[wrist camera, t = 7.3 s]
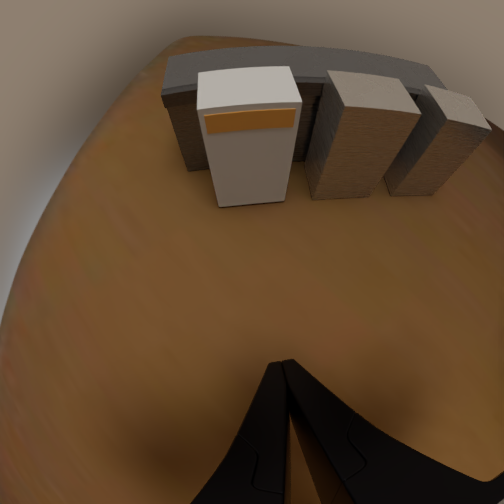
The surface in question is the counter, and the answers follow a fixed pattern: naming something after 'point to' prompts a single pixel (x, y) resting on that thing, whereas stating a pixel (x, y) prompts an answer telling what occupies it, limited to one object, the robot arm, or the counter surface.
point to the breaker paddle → (249, 131)
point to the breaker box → (346, 117)
